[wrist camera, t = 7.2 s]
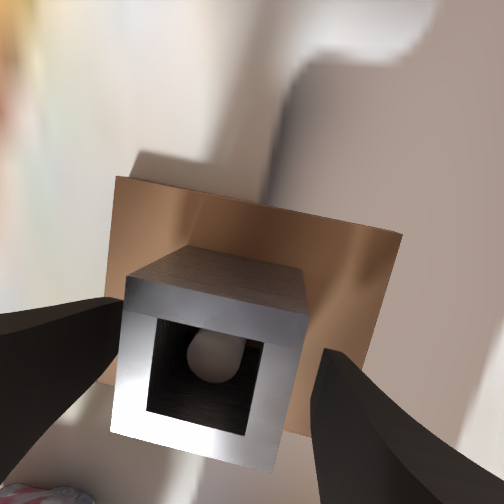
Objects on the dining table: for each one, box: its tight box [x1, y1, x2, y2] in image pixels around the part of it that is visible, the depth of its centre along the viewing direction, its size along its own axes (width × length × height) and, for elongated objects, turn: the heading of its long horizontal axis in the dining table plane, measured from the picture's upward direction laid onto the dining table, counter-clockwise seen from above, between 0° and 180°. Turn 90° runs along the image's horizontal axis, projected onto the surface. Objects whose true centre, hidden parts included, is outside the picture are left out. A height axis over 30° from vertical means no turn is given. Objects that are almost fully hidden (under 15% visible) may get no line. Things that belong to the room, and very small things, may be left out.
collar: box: [111, 245, 310, 473], centre depth 11 cm, size 5×5×5 cm
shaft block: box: [96, 176, 403, 438], centre depth 12 cm, size 12×10×4 cm
